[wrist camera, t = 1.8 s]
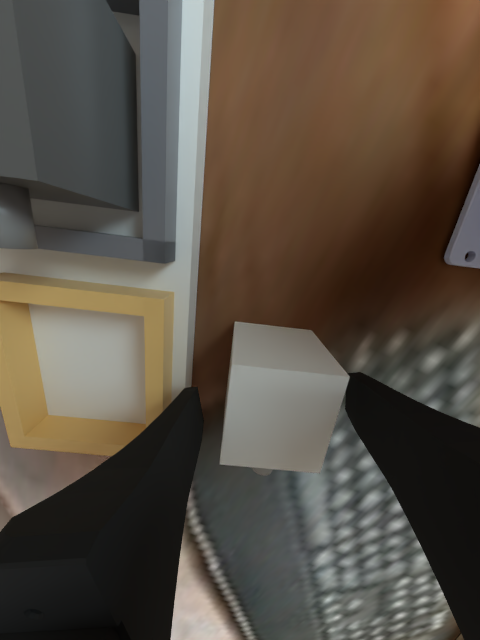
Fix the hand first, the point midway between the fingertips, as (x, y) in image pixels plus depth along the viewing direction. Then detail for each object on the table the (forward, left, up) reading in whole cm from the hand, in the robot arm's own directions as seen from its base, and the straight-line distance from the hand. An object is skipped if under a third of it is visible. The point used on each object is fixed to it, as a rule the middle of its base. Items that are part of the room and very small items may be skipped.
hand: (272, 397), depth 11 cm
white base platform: (+9, -5, -3) cm, 11 cm away
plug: (0, 0, -3) cm, 3 cm away
